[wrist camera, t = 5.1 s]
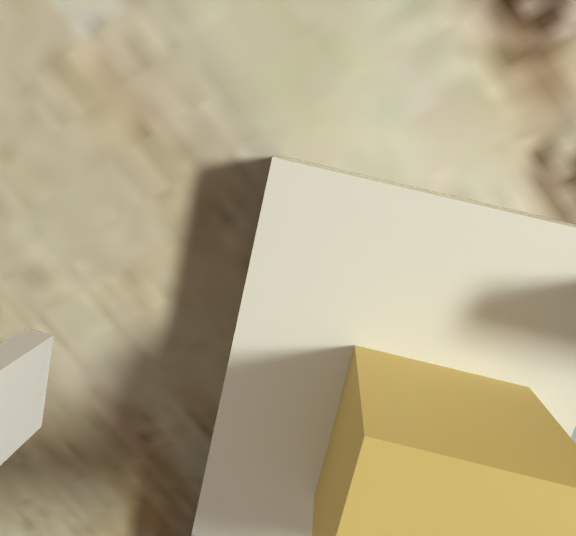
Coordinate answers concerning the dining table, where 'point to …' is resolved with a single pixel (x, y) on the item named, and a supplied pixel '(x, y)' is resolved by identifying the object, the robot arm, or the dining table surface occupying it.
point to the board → (374, 324)
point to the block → (442, 456)
